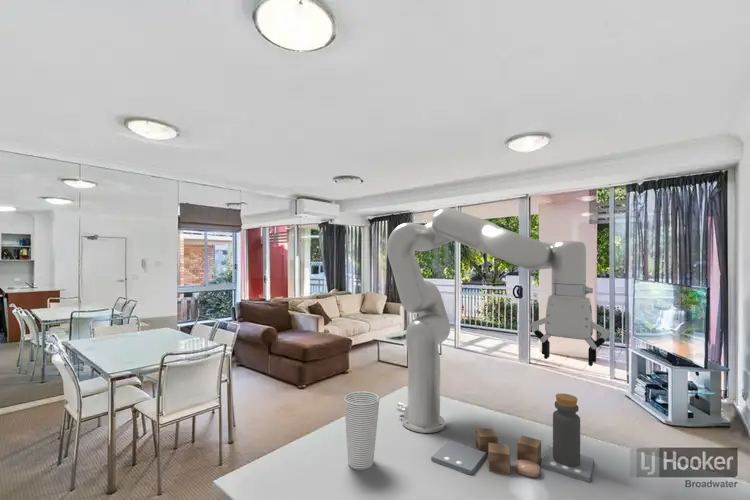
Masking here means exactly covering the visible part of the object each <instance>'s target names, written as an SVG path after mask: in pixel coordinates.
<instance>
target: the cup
mask: <svg viewBox="0 0 750 500" xmlns="http://www.w3.org/2000/svg"><path fill="white" fill-rule="evenodd" d="M343 402H344V419H345V421H344V422H345V433H346V435H345V437H346V448H347V450H346V452H347V453H346V454H347V464H348V466H349V467H350V468H351V469H354V470H359V471H365V470H367V469H370V468H371V467H372V466H373V465H374V460H375V450H376V448H375V447H376V442H377V441H376V438H377V428H378V419H379V408H380V396H379V394H377V393H376V392H372V391H368V390H355V391H350V392H348V393H346V394H345V395H344V396H343Z"/></svg>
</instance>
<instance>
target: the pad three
mask: <svg viewBox="0 0 750 500" xmlns="http://www.w3.org/2000/svg"><path fill="white" fill-rule="evenodd" d="M594 463H595V458H594V457H590V456H586V455H582V454H580V465H578V466H575V467H571V466H566V465H563V464H560V463H558V462H557V461H555V460H554V459H553V446H550V445H549V446H548V447H547V449H546V451H545V453H544V455H543V457H542V458H541V461H540V469H541V468H542V469H545V470H547V471H552V472H554V473H558V474H561V475H565V476H568V477H571V478H574V479H577V480H580V481H584V482H588V483H591V479H592V474H593V469H594Z"/></svg>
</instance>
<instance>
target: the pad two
mask: <svg viewBox="0 0 750 500" xmlns="http://www.w3.org/2000/svg"><path fill="white" fill-rule="evenodd" d="M486 457H487V455H486V452H483V451H480V450H478V449H477V448H473V447H470V446H467V445H464V444H460V443H458V442H454V441H451V440H448V441H446V442H445V443H444V444H442V446H441V447H440V448H439V449H438V450H437V451H436V452H435V453H434V454H432V455H431V457H430V461H431V462H433V463H436V464H439V465H442V466H444V467H448V468H450V469H453V470H456V471H458V472H462V473H465V474H467V475H470V476H472V475H473V474H474V473H475V472H476V470H477V469H478V468H479V466H480V465H481V464H482V462H483V461H484V460H485V459H486Z"/></svg>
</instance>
